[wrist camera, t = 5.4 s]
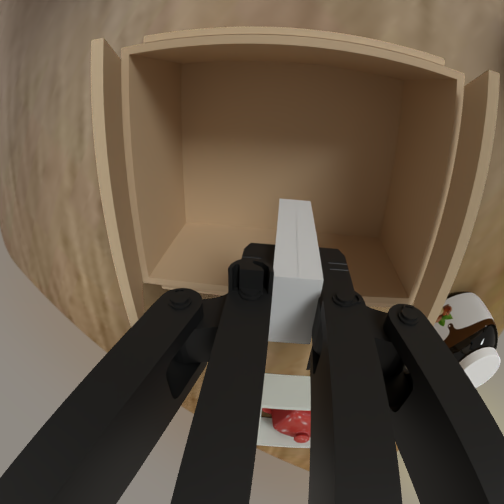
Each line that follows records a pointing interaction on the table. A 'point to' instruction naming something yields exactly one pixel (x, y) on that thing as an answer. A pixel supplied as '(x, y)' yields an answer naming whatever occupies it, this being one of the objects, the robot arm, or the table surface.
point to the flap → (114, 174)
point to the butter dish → (292, 423)
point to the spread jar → (470, 335)
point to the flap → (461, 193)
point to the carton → (287, 151)
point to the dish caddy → (283, 406)
